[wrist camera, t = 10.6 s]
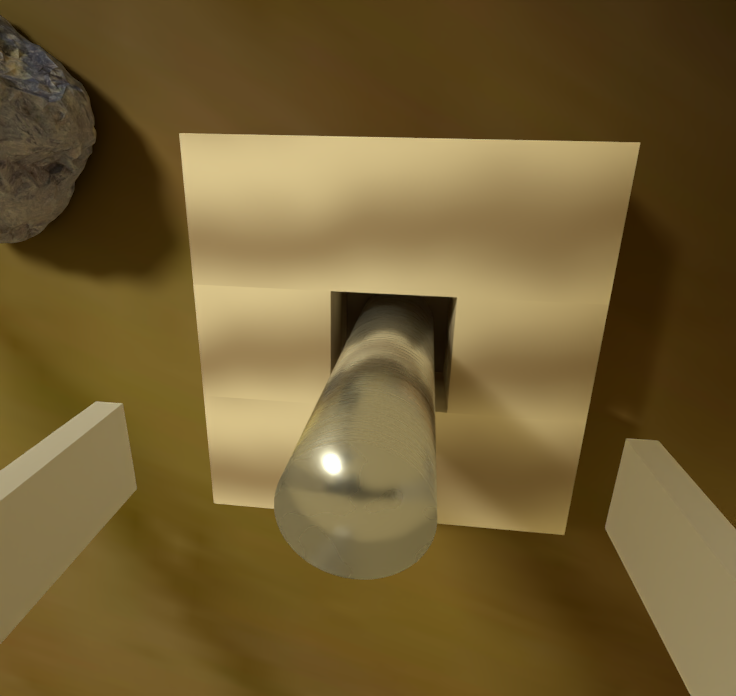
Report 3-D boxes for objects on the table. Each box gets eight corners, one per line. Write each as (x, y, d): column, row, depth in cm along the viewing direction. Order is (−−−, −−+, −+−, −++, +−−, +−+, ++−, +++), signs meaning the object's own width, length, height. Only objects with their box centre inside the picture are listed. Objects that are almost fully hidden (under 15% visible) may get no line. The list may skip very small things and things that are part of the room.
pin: (360, 285, 26) (270, 435, 11) (435, 288, 26) (443, 450, 11) (359, 354, 28) (277, 570, 13) (430, 359, 27) (431, 587, 12)
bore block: (232, 142, 26) (179, 133, 20) (589, 150, 24) (640, 142, 18) (251, 445, 32) (213, 503, 26) (537, 467, 30) (564, 535, 24)
